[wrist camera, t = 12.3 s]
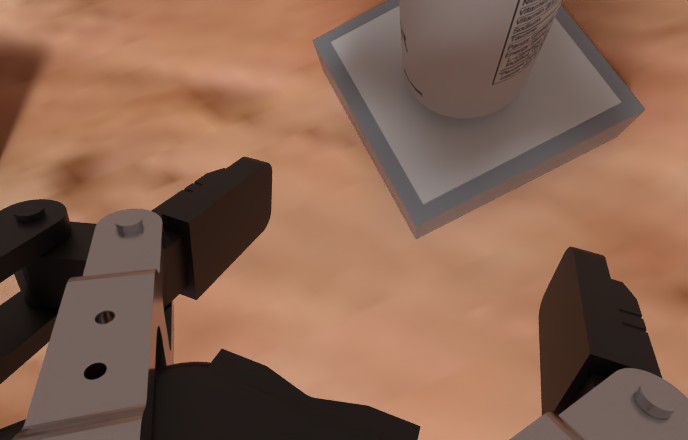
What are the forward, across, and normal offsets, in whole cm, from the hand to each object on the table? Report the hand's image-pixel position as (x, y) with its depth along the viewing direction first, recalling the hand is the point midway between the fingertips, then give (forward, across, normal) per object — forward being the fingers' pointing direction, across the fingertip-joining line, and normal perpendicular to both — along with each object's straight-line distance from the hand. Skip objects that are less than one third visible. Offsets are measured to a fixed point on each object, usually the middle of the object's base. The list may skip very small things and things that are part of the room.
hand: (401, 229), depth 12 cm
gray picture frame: (+16, 0, +1) cm, 16 cm away
